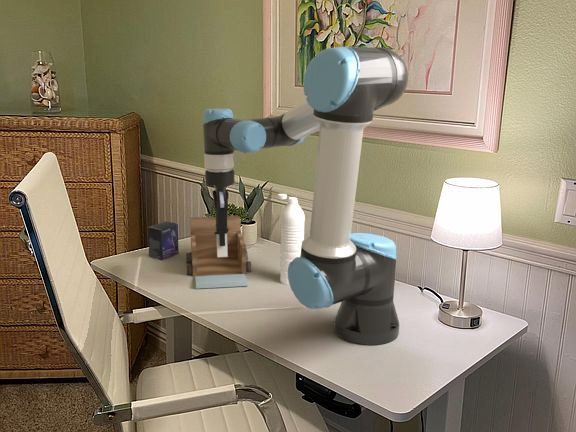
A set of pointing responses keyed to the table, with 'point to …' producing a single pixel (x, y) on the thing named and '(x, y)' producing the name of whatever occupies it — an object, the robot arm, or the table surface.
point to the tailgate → (221, 281)
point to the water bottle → (290, 235)
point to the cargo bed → (206, 249)
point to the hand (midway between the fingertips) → (222, 256)
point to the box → (163, 240)
